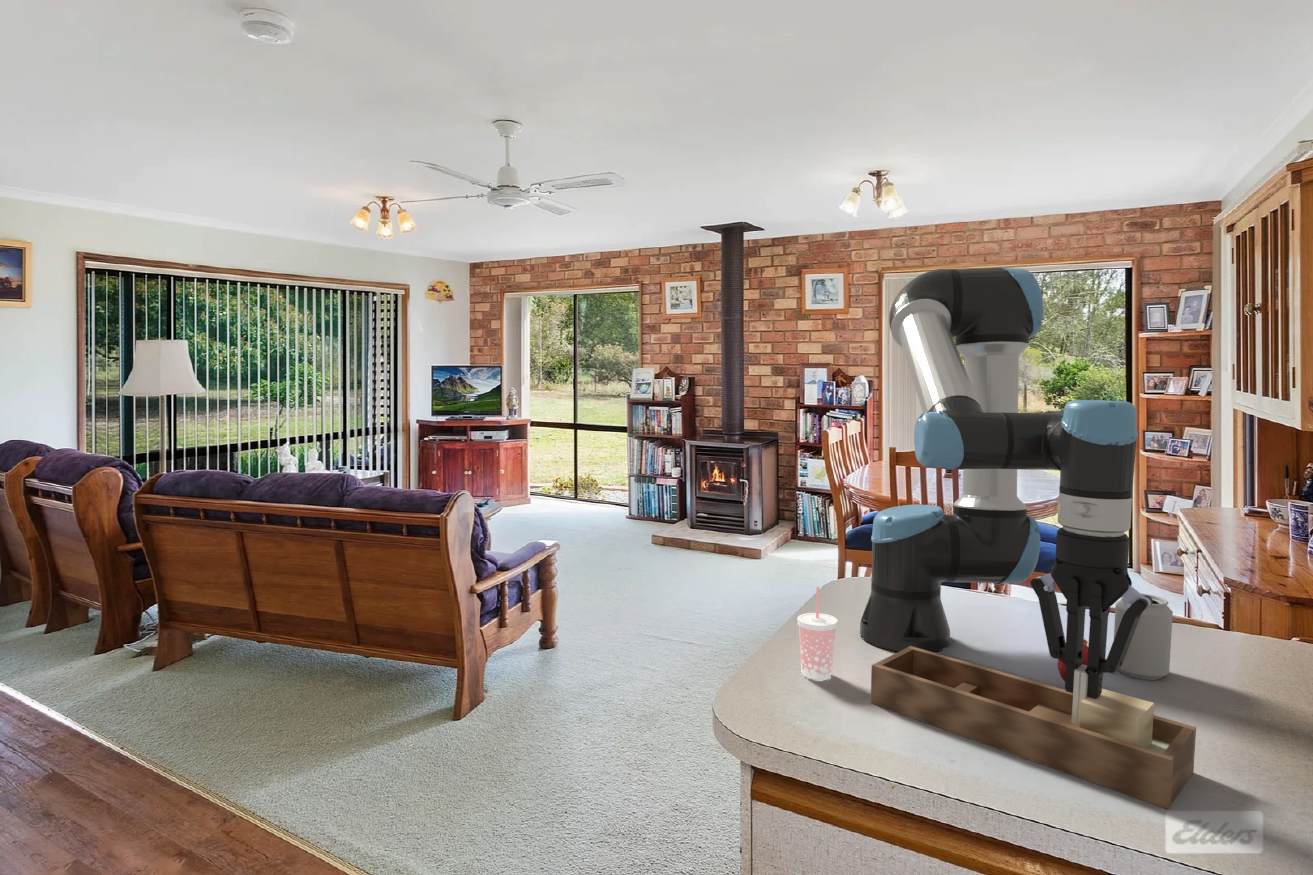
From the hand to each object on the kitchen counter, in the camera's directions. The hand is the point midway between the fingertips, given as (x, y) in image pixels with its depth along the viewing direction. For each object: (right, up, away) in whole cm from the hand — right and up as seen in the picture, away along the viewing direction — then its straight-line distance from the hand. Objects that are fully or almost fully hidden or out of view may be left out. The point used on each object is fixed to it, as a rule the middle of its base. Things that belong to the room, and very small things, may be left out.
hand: (1081, 720), depth 92 cm
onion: (+10, -3, +19) cm, 22 cm away
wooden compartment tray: (-5, -4, +6) cm, 9 cm away
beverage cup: (-27, -3, +25) cm, 37 cm away
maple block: (+3, -2, -2) cm, 4 cm away
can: (+24, -3, +26) cm, 36 cm away
